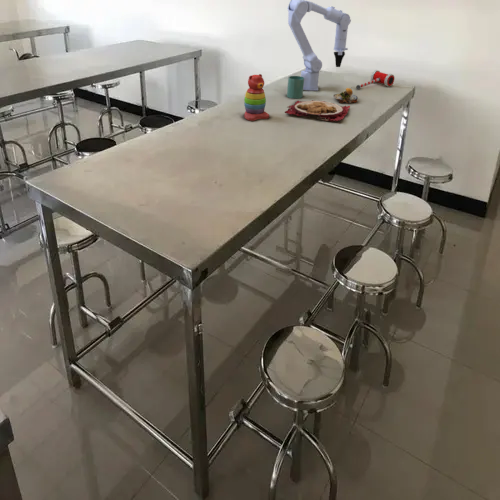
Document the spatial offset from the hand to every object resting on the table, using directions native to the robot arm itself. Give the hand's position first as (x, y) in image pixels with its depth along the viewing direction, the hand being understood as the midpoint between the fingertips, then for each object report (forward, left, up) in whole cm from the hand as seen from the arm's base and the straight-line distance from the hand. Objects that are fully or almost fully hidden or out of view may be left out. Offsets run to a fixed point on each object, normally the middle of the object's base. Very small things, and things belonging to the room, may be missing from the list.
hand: (337, 66), depth 253 cm
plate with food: (-10, -45, -11) cm, 47 cm away
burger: (+4, -24, -11) cm, 26 cm away
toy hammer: (+22, +7, -11) cm, 25 cm away
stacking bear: (-38, -57, -11) cm, 69 cm away
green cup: (-21, -22, -10) cm, 32 cm away
